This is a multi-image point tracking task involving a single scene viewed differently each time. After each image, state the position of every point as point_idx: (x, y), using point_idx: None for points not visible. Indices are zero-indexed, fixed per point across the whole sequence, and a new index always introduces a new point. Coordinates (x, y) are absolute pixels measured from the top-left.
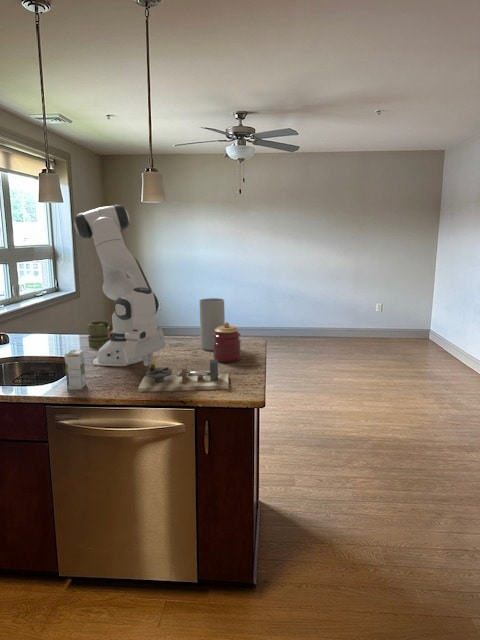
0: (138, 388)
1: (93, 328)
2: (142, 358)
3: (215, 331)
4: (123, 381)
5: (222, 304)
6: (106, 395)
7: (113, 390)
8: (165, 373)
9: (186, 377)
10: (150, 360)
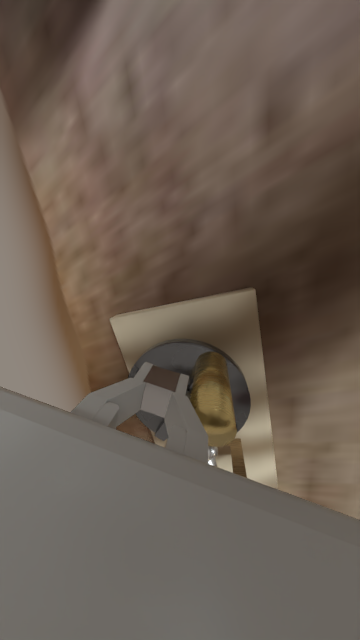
0: (111, 319)
1: None
2: (98, 397)
3: None
4: (216, 189)
5: None
6: (53, 211)
7: (103, 209)
8: (156, 430)
9: (218, 453)
10: (166, 416)
